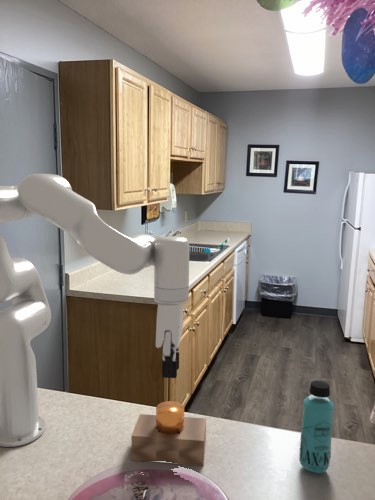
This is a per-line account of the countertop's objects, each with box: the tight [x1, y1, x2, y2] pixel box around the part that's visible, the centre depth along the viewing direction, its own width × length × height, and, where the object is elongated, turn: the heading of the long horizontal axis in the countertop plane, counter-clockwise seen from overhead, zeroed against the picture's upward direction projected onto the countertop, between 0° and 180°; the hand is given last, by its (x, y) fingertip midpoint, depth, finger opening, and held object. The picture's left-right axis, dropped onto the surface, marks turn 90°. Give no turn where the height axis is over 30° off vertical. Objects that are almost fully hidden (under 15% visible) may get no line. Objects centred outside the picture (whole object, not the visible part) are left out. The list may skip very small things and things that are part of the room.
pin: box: [155, 400, 185, 435], centre depth 98 cm, size 6×6×10 cm
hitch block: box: [131, 413, 207, 467], centre depth 98 cm, size 16×9×6 cm, turn 85°
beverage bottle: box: [299, 380, 335, 474], centre depth 91 cm, size 6×7×20 cm
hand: (170, 372), depth 96 cm, fingers open, 3 cm apart
